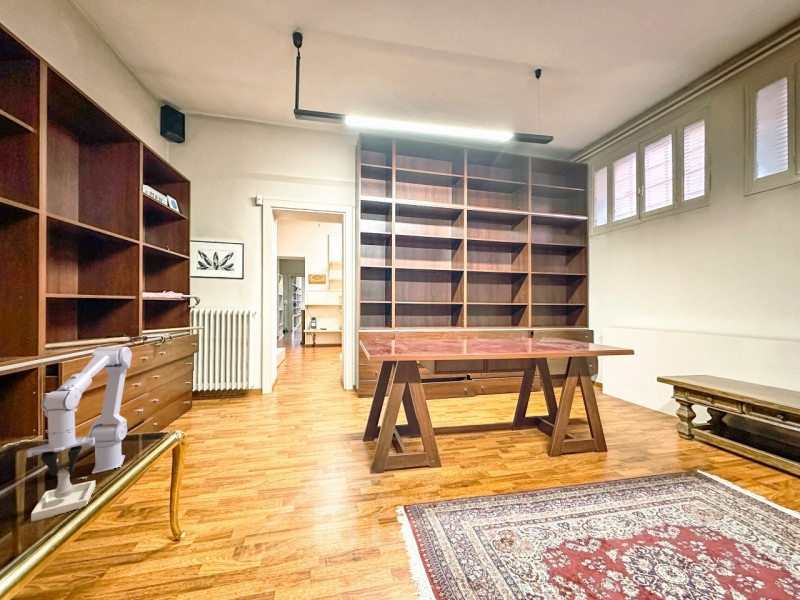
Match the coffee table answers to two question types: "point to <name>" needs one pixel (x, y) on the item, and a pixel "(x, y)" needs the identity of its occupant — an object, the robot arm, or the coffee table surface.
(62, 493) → the rook chess piece
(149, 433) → the coffee table surface
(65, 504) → the tray
